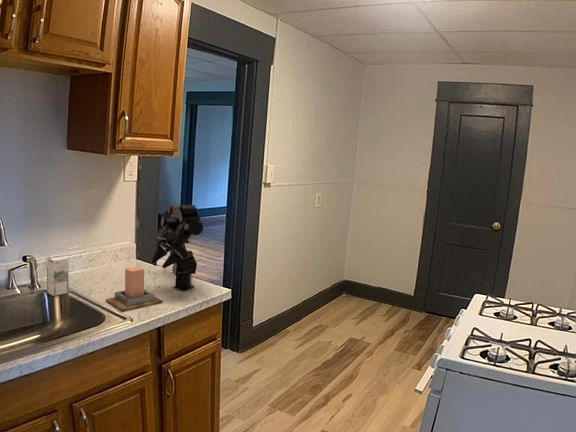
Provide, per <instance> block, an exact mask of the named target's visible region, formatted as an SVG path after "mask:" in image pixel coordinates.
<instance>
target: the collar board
mask: <svg viewBox="0 0 576 432" xmlns="http://www.w3.org/2000/svg"><path fill="white" fill-rule="evenodd" d="M105 302H106V303H108V304H109V305H110V306H111V307H113V308H115V309H116V310H118V311H119V312H121V313H123V312H124V313H125V312H129V311H133V310H137V309H142V308H145V307H151V306H156V305H159V304H163V300H162V299H161V298H159V297H157V296H156V295H155V294H154V293H152V292H150V291H148V290H147V289H145V288H144V296H139V297H134V298H128V297H126V296H125V289H124V290H120V291H115V292H114V297H110V298H106V299H105Z"/></svg>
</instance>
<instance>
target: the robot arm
mask: <svg viewBox="0 0 576 432" xmlns="http://www.w3.org/2000/svg"><path fill="white" fill-rule="evenodd" d="M160 226H161V228H159V229H158V233H157V235H156V237H157V239H156V240H155V241H154V245H155V248H156V249H155V252H154V254H153V257H152V260H151V263H152V264H155V263H156V262H159V260H161V259H162V258H163V257H165V256H167V255H168V254H169V255H168V256H167V258H166V259H165V261H164V262H163V264H162V266H161V267H162V268H163V269H166V268H167V267H171V266H172V267H171V270H172V271H171V273H172V274H173V275H174V276H175V281H174V282H175V285H173V286H172V289H177V290H179V291H188V290H190V289H192V288H195V285H193V284H192V275H195V274H196V271H197V265H198V263H197V260H196V258H195V256H194V254H193V251H192V250H187V247H186V244H189V243H190V241H189V240H190V239H191V237H192V236H199V235H201V234H202V233H203V229H204V226H203V223H202V222H201V214H200V212H199V210H198V207H196V205H195V204H186V205H185V204H180V205H178V204H177V205H169V206H168V207H167V210H166V211H165V212H163V214H162V216H161V220H160ZM168 252H169V253H168Z"/></svg>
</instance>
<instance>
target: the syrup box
mask: <svg viewBox="0 0 576 432" xmlns="http://www.w3.org/2000/svg"><path fill="white" fill-rule="evenodd" d="M46 284H47V285H46V290H47V291H46V292H47V294H49V295H50V296H53V297H57V296H63V295H66V294H67V293H68V294H69V289H70V288H69V258H68V257H67V256H65V255H63V254H59V255H58V254H57V255H52V256H47V257H46Z"/></svg>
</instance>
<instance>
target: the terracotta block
mask: <svg viewBox="0 0 576 432" xmlns="http://www.w3.org/2000/svg"><path fill="white" fill-rule="evenodd" d="M124 280H125V281H124V290H125V296H126V297H128V298H134V297H139V296H144V289H145V269H144V268H142V267H140V266H132V267H125V268H124Z"/></svg>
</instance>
